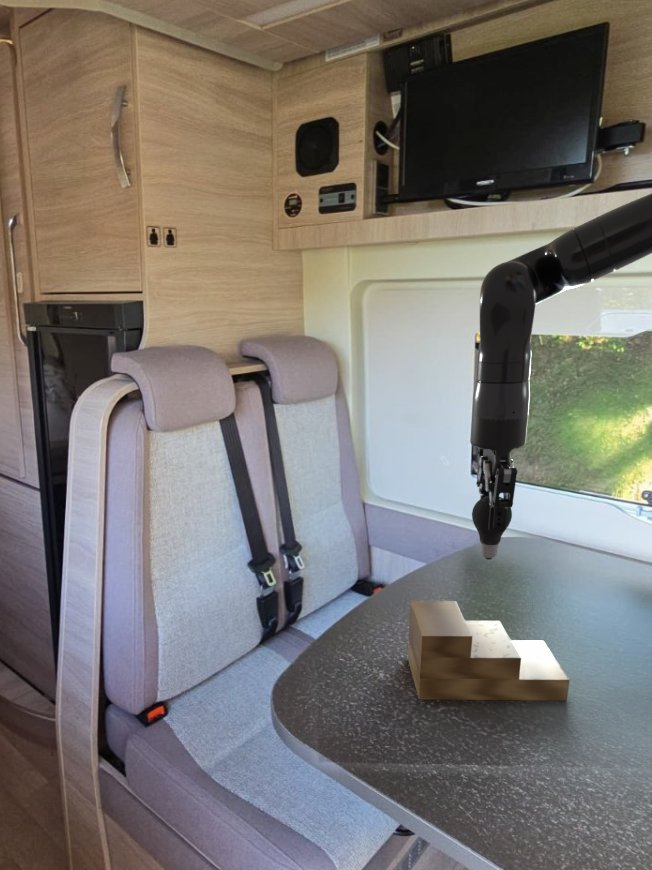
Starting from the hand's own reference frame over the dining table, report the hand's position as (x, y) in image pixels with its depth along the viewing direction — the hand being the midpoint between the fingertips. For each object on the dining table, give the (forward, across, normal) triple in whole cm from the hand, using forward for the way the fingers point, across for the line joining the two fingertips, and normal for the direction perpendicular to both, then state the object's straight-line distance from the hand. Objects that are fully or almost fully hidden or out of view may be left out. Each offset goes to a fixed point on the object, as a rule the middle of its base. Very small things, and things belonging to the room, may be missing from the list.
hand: (491, 524), depth 108 cm
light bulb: (+6, 0, 0) cm, 6 cm away
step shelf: (+23, -5, +1) cm, 24 cm away
